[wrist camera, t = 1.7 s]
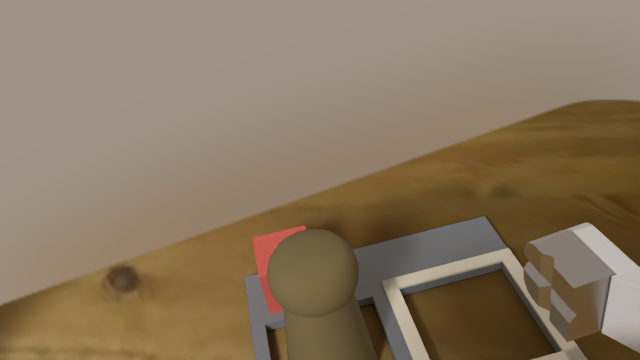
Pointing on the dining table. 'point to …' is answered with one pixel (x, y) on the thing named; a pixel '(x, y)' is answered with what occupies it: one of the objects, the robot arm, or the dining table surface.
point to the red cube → (262, 253)
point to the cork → (319, 297)
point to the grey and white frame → (419, 285)
